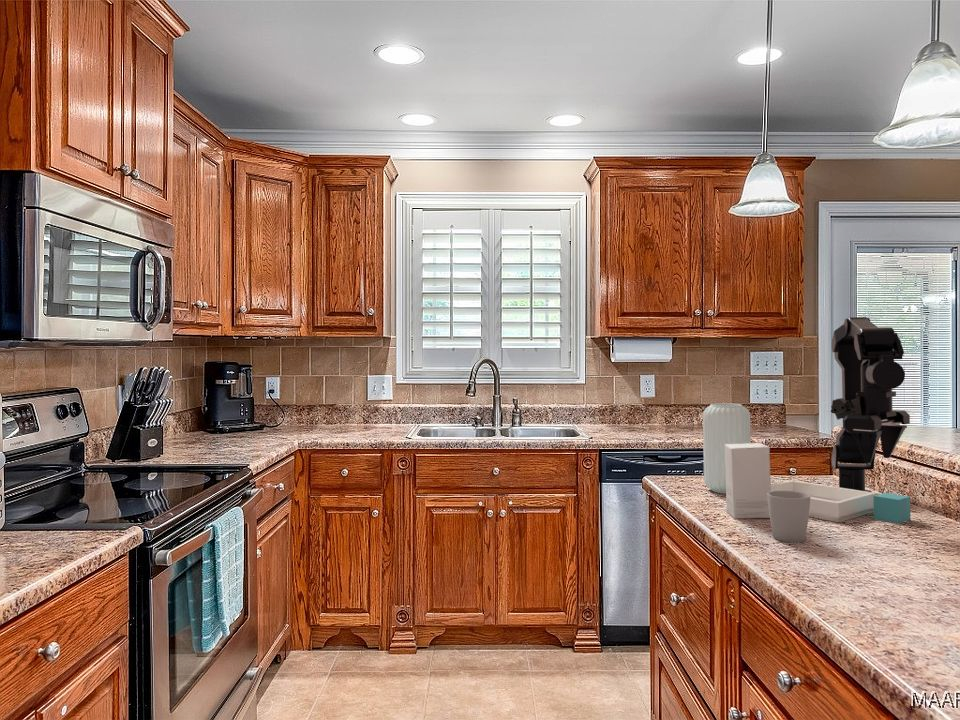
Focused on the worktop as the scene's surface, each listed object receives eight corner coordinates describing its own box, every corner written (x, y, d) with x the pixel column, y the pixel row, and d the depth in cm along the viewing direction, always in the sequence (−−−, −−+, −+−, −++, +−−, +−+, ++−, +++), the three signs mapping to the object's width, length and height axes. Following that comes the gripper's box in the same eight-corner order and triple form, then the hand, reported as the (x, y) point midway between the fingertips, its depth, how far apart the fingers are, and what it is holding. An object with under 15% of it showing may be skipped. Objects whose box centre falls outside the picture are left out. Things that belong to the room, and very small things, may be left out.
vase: (745, 486, 181) (744, 402, 181) (756, 495, 170) (755, 406, 169) (700, 486, 183) (699, 403, 182) (708, 495, 171) (707, 406, 171)
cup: (767, 542, 129) (767, 497, 129) (767, 529, 138) (767, 487, 138) (812, 545, 126) (811, 499, 126) (809, 532, 135) (808, 489, 135)
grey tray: (791, 496, 168) (791, 480, 168) (876, 511, 151) (876, 493, 151) (752, 505, 159) (752, 488, 159) (838, 522, 142) (838, 503, 142)
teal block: (885, 515, 147) (885, 492, 147) (910, 520, 143) (910, 496, 143) (873, 519, 145) (873, 495, 145) (898, 524, 140) (898, 499, 140)
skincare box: (763, 512, 153) (762, 442, 152) (773, 519, 146) (772, 446, 146) (724, 512, 153) (723, 442, 153) (732, 519, 147) (731, 447, 147)
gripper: (856, 384, 157) (857, 451, 157) (817, 387, 145) (818, 460, 146) (910, 385, 148) (911, 457, 148) (872, 389, 137) (873, 467, 137)
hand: (877, 460), depth 145 cm, fingers open, 9 cm apart
